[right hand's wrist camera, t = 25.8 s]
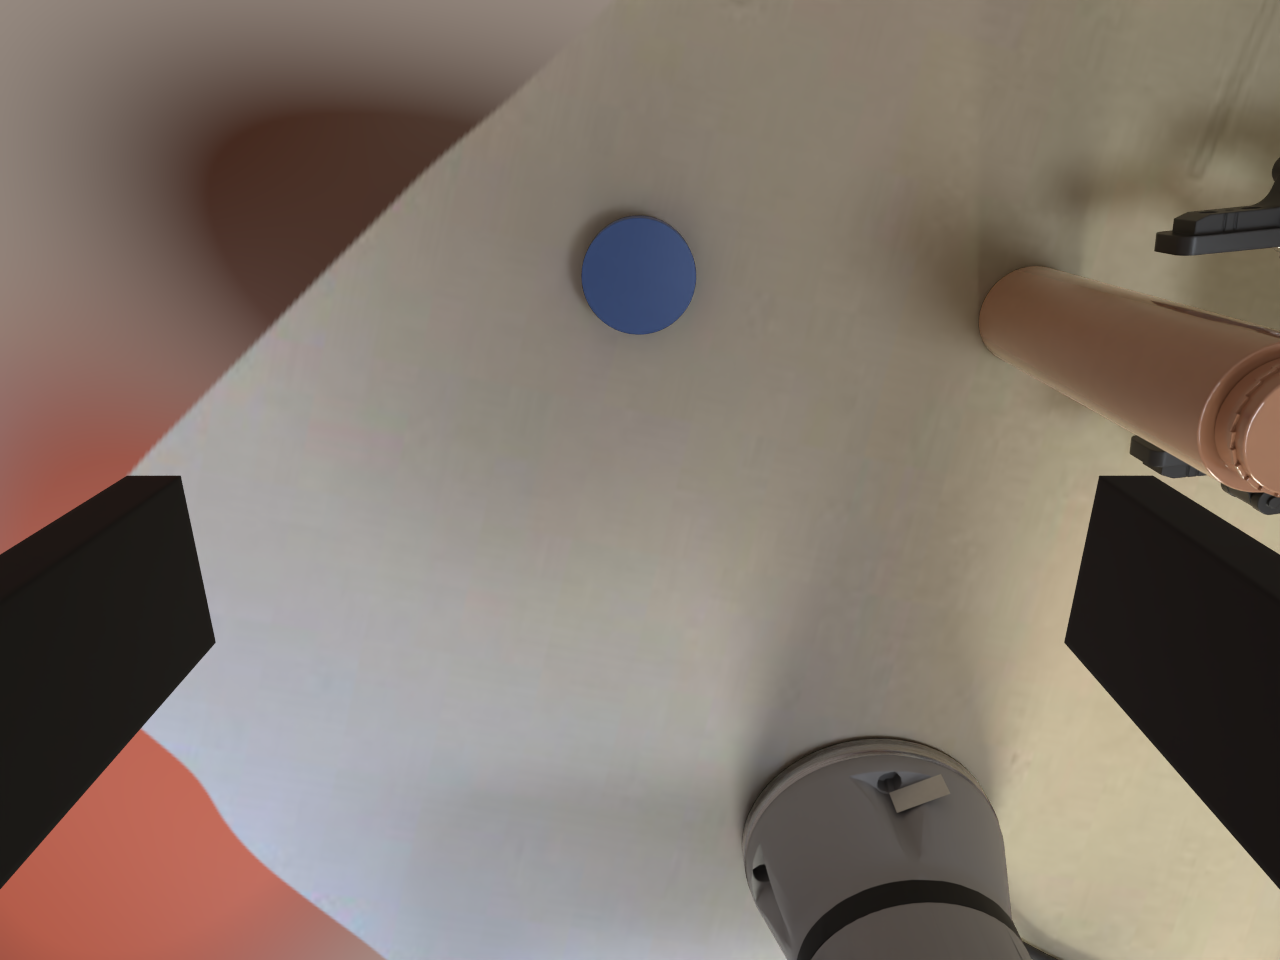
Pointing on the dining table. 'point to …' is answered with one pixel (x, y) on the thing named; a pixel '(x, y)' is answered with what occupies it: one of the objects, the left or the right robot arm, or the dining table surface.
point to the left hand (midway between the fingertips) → (1152, 353)
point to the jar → (1148, 368)
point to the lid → (638, 275)
